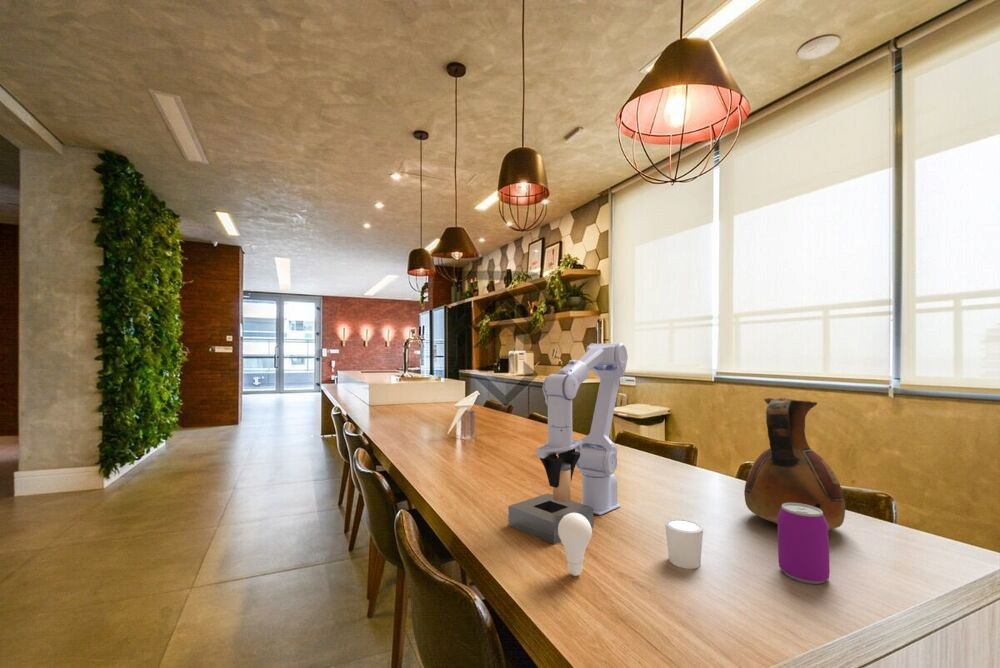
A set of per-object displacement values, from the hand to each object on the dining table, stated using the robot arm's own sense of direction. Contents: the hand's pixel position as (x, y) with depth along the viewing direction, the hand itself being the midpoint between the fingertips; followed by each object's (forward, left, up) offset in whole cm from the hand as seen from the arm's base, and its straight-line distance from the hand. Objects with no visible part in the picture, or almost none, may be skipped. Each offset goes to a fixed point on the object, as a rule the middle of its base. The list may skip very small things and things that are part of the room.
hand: (560, 484), depth 102 cm
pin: (0, 0, -3) cm, 3 cm away
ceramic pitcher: (-42, +36, -10) cm, 56 cm away
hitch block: (+1, -2, -10) cm, 10 cm away
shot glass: (-5, +27, -10) cm, 29 cm away
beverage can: (-16, +44, -10) cm, 48 cm away
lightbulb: (+15, +16, -10) cm, 24 cm away
